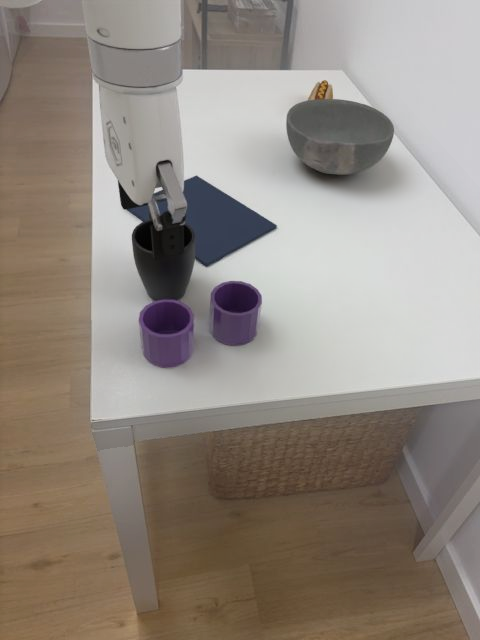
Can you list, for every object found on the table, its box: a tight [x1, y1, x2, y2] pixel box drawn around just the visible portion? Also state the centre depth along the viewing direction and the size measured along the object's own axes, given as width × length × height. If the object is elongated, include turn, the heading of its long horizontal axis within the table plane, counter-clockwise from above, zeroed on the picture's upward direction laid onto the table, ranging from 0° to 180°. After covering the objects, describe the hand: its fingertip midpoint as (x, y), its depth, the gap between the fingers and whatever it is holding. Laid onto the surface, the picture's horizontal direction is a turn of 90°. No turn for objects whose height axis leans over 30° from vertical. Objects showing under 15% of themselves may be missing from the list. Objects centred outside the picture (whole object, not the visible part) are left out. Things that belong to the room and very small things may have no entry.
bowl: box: [285, 98, 395, 176], centre depth 101 cm, size 20×20×10 cm
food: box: [307, 79, 334, 101], centre depth 120 cm, size 14×6×5 cm, turn 169°
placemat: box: [125, 175, 278, 267], centre depth 88 cm, size 20×16×1 cm
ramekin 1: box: [138, 299, 195, 369], centre depth 66 cm, size 7×7×6 cm
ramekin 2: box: [209, 280, 263, 347], centre depth 70 cm, size 7×7×6 cm
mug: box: [131, 209, 196, 301], centre depth 73 cm, size 8×12×10 cm
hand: (151, 229), depth 57 cm, fingers open, 9 cm apart
